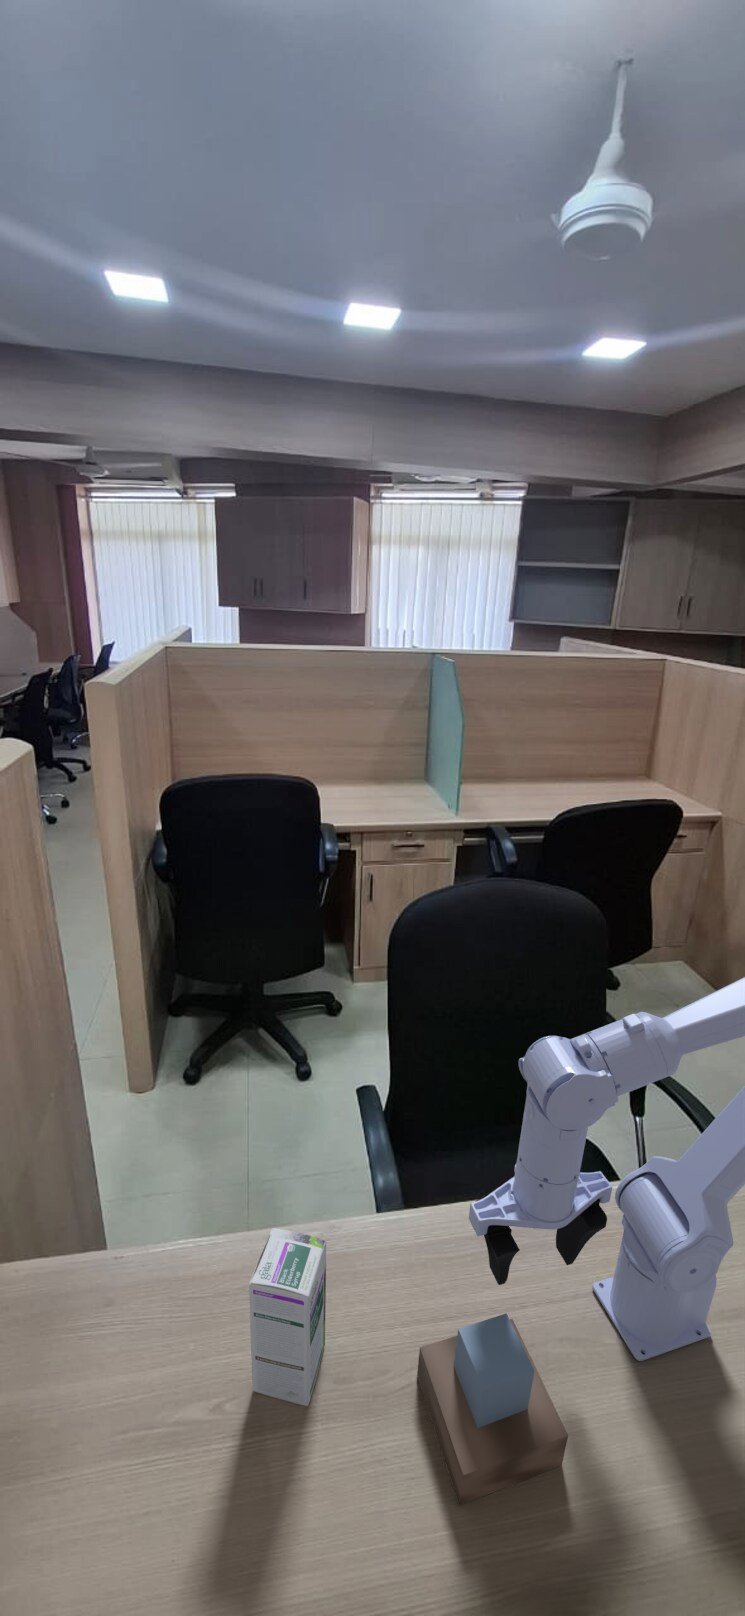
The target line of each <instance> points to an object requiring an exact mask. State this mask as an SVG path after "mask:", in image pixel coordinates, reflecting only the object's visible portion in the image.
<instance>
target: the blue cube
mask: <svg viewBox="0 0 745 1616" xmlns="http://www.w3.org/2000/svg"><path fill="white" fill-rule="evenodd" d="M510 1319H511V1318H509V1315H508V1314H507V1313H504V1314H499V1315H498V1316H494V1317H491V1318H488V1319H485V1320H482V1321H479V1322H475V1323H472V1324H469V1325H466V1326H464V1327H460V1328H458V1329H457V1335H456V1336H457V1343H456V1351H455V1359H454V1369H455V1371H456V1374H457V1377H458V1379H459V1382H460V1384H461V1387H462V1389H463V1392H464V1395H465V1397H466V1400H467V1402H468V1405H469V1408H470V1410H471V1413H472V1415H473V1418H474V1420H475V1423H476V1426H477V1428H479V1427H482V1426H485V1425H487V1424H490V1423H492V1422H495V1421H498V1420H500V1419H503V1418H506V1417H508V1416H511V1415H514V1414H516V1413H519V1412H521V1411H524V1410H527V1409H528V1405H529V1399H530V1394H531V1388H532V1383H533V1377H534V1372H535V1371H534V1369H533V1366H532V1364H531V1362H530V1360H529V1358H528V1356H527V1354H526V1352H525V1350H524V1348H523V1346H522V1344H521V1342H520V1340H519V1338H518V1336H517V1334H516V1332H515V1330H514V1328H513V1326H512V1324H511V1321H510Z"/></svg>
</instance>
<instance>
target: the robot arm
mask: <svg viewBox="0 0 745 1616" xmlns="http://www.w3.org/2000/svg"><path fill="white" fill-rule="evenodd" d="M743 1037H745V976H743V977H742V978H740V979H737V980H736V981H734V982H732V983H730V984H728V985H726V986H723V987H722V988H720V989H717V990H716V991H714V992H712V993H710V994H708V995H706V996H703V997H701V998H700V999H697V1000H696V1001H693V1002H692V1003H690V1004H687V1005H686V1006H683V1007H682V1008H679V1009H677V1010H675V1011H674V1012H671V1013H669V1014H667V1015H666V1016H664V1017H659V1016H658V1015H657V1016H656V1015H654V1014H652V1013H649V1012H645V1011H639V1012H637V1013H632V1014H629V1015H627V1016H624V1017H622V1018H621V1019H619V1020H616V1021H614V1022H611V1023H609V1024H606V1025H604V1026H601V1027H598V1028H596V1029H593V1030H591V1031H588V1032H586V1033H582V1034H581V1035H578V1036H575V1037H573V1038H567V1037H563V1036H558V1035H548V1036H543V1037H541V1038H538V1040H536V1041H535V1042H533V1043H532V1044H531V1045H530V1046H529V1047H528V1048H527V1051H526V1053H525V1055H524V1056H523V1057H520V1058H519V1059H518V1068H519V1071H520V1074H521V1076H522V1077H523V1079H524V1081H525V1082H526V1083H527V1087H526V1097H525V1104H524V1112H523V1117H522V1125H521V1132H520V1138H519V1144H518V1150H517V1152H518V1153H517V1159H516V1163H515V1165H514V1169H513V1171H514V1176H513V1177H511V1178H510V1179H509V1180H507V1181H506V1182H504V1183H503V1184H502V1185H501V1186H499V1187H497V1188H495V1190H493V1191H492V1192H490V1193H489V1194H488V1195H487V1196H485V1197H483V1198H478V1199H477V1200H475V1201H473V1202H471V1203H470V1204H469V1212H468V1220H469V1223H470V1225H471V1226H472V1229H473V1230H474V1232H475V1234H476V1236H477V1237H481V1236H483V1237H484V1240H485V1244H486V1248H487V1249H486V1250H487V1254H488V1262H489V1263H488V1264H489V1265H488V1266H489V1269H490V1270H491V1273H492V1275H493V1277H494V1279H495V1281H496V1283H497V1285H499V1286H501V1285H504V1284H506V1283H507V1281H508V1277H509V1272H510V1267H511V1263H512V1262H513V1259H514V1257H515V1256H516V1255H517V1253H518V1252H520V1251H521V1250H520V1248H519V1247H518V1244H517V1242H516V1241H515V1238H514V1237H513V1235H512V1231H513V1230H512V1228H511V1227H517V1228H528V1229H538V1230H539V1229H540V1230H556V1234H555V1248H556V1250H557V1251H558V1253H559V1256H561V1258H562V1260H563V1261H564V1263H565V1265H566V1266H569V1265H572V1264H573V1263H574V1262H575V1261H576V1259H577V1258H578V1256H579V1254H580V1253H581V1251H582V1250H583V1249H584V1248H585V1245H586V1244H587V1243H588V1242H589V1241H590V1239H591V1238H592V1237H594V1236H595V1235H596V1234H597V1233H599V1232H600V1231H602V1230H603V1229H606V1227H607V1224H608V1223H607V1222H608V1216H607V1214H606V1212H605V1211H604V1210H603V1208H602V1207H601V1205H600V1204H605V1203H609V1202H610V1201H611V1197H612V1191H613V1186H612V1184H611V1183H610V1182H609V1180H608V1179H607V1178H606V1176H605V1175H604V1174H603V1172H602V1171H601V1170H599V1171H594V1172H582V1171H581V1168H582V1162H583V1158H584V1157H583V1155H584V1150H585V1146H586V1140H587V1136H588V1130H589V1127H591V1126H592V1125H594V1124H596V1123H597V1122H598V1121H599V1120H600V1119H601V1118H602V1117H603V1115H604V1114H605V1113H606V1111H608V1110H609V1109H610V1108H612V1107H614V1106H616V1103H618V1102H619V1097H620V1096H623V1095H626V1094H627V1093H630V1092H633V1091H635V1090H638V1089H640V1088H643V1087H646V1086H647V1085H650V1084H653V1083H655V1082H658V1081H660V1080H663V1079H665V1078H667V1077H670V1076H673V1075H675V1073H677V1070H678V1068H679V1065H680V1062H681V1059H682V1058H683V1056H684V1055H686V1054H690V1053H693V1052H697V1051H700V1050H703V1049H706V1048H710V1047H713V1046H716V1045H720V1044H723V1043H726V1042H727V1043H728V1042H729V1041H730V1042H731V1041H733V1040H736V1039H740V1038H743ZM743 1187H745V1085H744V1086H743V1087H742V1088H741V1089H740V1091H738V1092H737V1094H735V1096H734V1097H733V1098H732V1099H731V1101H729V1103H728V1104H727V1105H726V1106H725V1107H724V1108H723V1109H722V1111H720V1113H719V1114H718V1115H717V1116H716V1117H715V1118H714V1119H713V1120H712V1122H711V1123H710V1124H709V1125H708V1127H706V1129H704V1131H703V1132H702V1133H701V1134H700V1135H699V1136H698V1138H696V1140H695V1141H694V1142H693V1143H692V1144H691V1145H690V1147H688V1149H687V1150H686V1151H685V1152H684V1153H683V1154H682V1156H681V1157H680V1158H679V1159H678V1160H676V1159H673V1158H669V1157H665V1156H660V1155H659V1156H658V1155H655V1156H654V1155H653V1156H651V1157H650V1158H649V1159H648V1160H647V1162H646V1163H645V1164H644V1165H642V1166H641V1167H639V1168H638V1169H636V1170H632V1171H631V1172H629V1173H627V1175H626V1176H624V1177H623V1178H622V1180H621V1181H620V1182H619V1184H618V1186H617V1188H616V1190H615V1195H614V1199H615V1204H616V1206H617V1207H618V1209H619V1210H620V1211H621V1212H622V1215H623V1216H622V1219H621V1225H622V1226H623V1227H622V1228H623V1233H622V1239H621V1242H620V1245H619V1251H618V1255H617V1261H616V1265H615V1269H614V1273H613V1276H612V1277H609V1278H605V1279H602V1280H599V1281H595V1282H593V1283H592V1285H591V1286H592V1290H593V1292H594V1293H595V1295H596V1297H597V1299H598V1300H599V1301H600V1302H599V1303H601V1305H602V1307H603V1308H604V1310H605V1312H606V1314H608V1316H609V1318H610V1319H611V1321H612V1322H613V1325H614V1326H615V1328H616V1330H617V1331H618V1333H619V1334H620V1336H621V1338H622V1339H623V1341H624V1342H625V1344H626V1346H627V1347H628V1350H629V1351H630V1353H632V1356H633V1357H634V1358H635V1360H637V1361H639V1362H643V1361H645V1360H649V1359H651V1358H655V1357H657V1356H660V1355H663V1354H666V1353H667V1352H670V1351H674V1350H677V1349H680V1348H682V1347H685V1346H687V1345H690V1344H691V1345H692V1344H694V1343H696V1342H699V1341H702V1340H705V1339H708V1338H710V1337H711V1335H712V1330H711V1328H710V1327H709V1325H707V1323H706V1322H707V1319H708V1316H709V1313H710V1308H711V1306H712V1305H711V1304H712V1301H713V1297H714V1294H715V1292H716V1288H717V1273H718V1271H719V1269H720V1266H721V1263H722V1261H723V1259H724V1257H725V1256H726V1255H727V1253H728V1252H729V1251H730V1249H732V1247H733V1246H734V1238H733V1231H732V1227H731V1226H732V1225H731V1220H730V1216H729V1209H728V1204H729V1202H730V1201H731V1200H732V1199H733V1198H734V1197H735V1196H736V1194H737V1193H739V1192H740V1191H741V1189H742V1188H743ZM643 1353H644V1354H643Z"/></svg>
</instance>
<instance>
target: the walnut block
mask: <svg viewBox="0 0 745 1616" xmlns="http://www.w3.org/2000/svg"><path fill="white" fill-rule="evenodd" d="M509 1319H510V1321H511V1324H512V1326H513V1328H514V1330H515V1332H516V1334H517V1336H518V1338H519V1340H520V1342H521V1344H522V1346H523V1348H524V1350H525V1352H526V1354H527V1356H528V1358H529V1360H530V1362H531V1364H532V1366H533V1369H534V1371H535V1372H534V1377H533V1383H532V1388H531V1394H530V1399H529V1405H528V1409H527V1410H524V1411H521V1412H519V1413H516V1414H514V1415H511V1416H508V1417H506V1418H503V1419H500V1420H498V1421H495V1422H492V1423H490V1424H487V1425H485V1426H482V1427H479V1428H477V1426H476V1423H475V1420H474V1418H473V1415H472V1413H471V1410H470V1408H469V1405H468V1402H467V1400H466V1397H465V1395H464V1392H463V1389H462V1387H461V1384H460V1382H459V1379H458V1377H457V1374H456V1371H455V1369H454V1359H455V1351H456V1343H457V1335H455V1336H452V1337H448V1338H444V1339H442V1340H438V1341H435V1342H432V1343H429V1344H426V1345H423V1346H420V1347H419V1350H418V1351H419V1352H418V1353H419V1354H418V1361H417V1362H418V1364H417V1370H416V1371H417V1374H416V1376H417V1380H418V1383H419V1387H420V1388H421V1392H422V1396H423V1398H424V1401H425V1405H426V1407H427V1411H428V1415H429V1417H430V1420H431V1423H432V1426H433V1429H434V1432H435V1433H434V1434H435V1435H436V1438H437V1441H438V1445H439V1448H440V1451H441V1454H442V1457H443V1460H444V1463H445V1466H446V1469H447V1472H448V1475H449V1479H450V1481H451V1482H450V1483H451V1485H452V1488H453V1491H454V1494H455V1497H456V1501H457V1503H458V1506H461V1505H464V1504H466V1503H469V1502H472V1501H474V1500H477V1499H479V1498H481V1497H484V1496H487V1495H489V1494H492V1493H495V1492H498V1491H499V1490H502V1489H505V1488H507V1487H510V1486H512V1485H515V1484H517V1483H520V1482H522V1481H524V1480H525V1481H526V1480H527V1479H530V1478H532V1477H535V1476H537V1475H538V1476H539V1475H541V1474H542V1473H545V1472H548V1471H551V1470H553V1469H555V1468H558V1467H560V1466H562V1465H563V1461H564V1456H565V1454H566V1453H565V1452H566V1447H567V1443H568V1438H569V1434H568V1432H567V1429H566V1428H565V1426H564V1424H563V1422H562V1420H561V1417H560V1415H559V1414H558V1411H557V1409H556V1407H555V1405H554V1403H553V1401H552V1398H551V1397H550V1394H549V1393H548V1390H547V1388H546V1386H545V1384H544V1382H543V1380H542V1377H541V1375H540V1374H539V1372H538V1370H537V1367H536V1365H535V1363H534V1361H533V1359H532V1356H531V1355H530V1353H529V1351H528V1349H527V1346H526V1344H525V1341H524V1340H523V1337H522V1335H521V1334H520V1332H519V1329H518V1328H517V1325H516V1323H515V1321H514V1319H513V1318H509Z"/></svg>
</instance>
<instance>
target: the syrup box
mask: <svg viewBox="0 0 745 1616" xmlns="http://www.w3.org/2000/svg"><path fill="white" fill-rule="evenodd" d="M326 1281H327V1241H326V1239H323V1238H320V1237H317V1236H312V1235H310V1234H305V1233H302V1232H297V1231H293V1230H287V1229H281V1228H280V1229H279V1228H275V1227H271V1230H270V1232H269V1234H268V1237H267V1240H266V1241H265V1244H264V1246H263V1249H262V1251H261V1253H260V1254H259V1257H258V1260H257V1262H256V1265H255V1268H254V1270H253V1273H252V1275H251V1279H249V1283H248V1288H249V1289H248V1291H249V1294H248V1295H249V1296H248V1297H249V1317H250V1318H249V1319H250V1321H249V1322H250V1323H249V1325H250V1326H249V1327H250V1348H251V1352H250V1353H251V1373H252V1375H251V1381H252V1383H251V1384H252V1391H253V1392H255V1393H259V1394H262V1395H265V1396H267V1397H270V1398H271V1397H272V1398H274V1399H279V1400H282V1401H284V1402H285V1401H286V1402H290V1403H293V1404H297V1405H299V1406H305V1407H308V1406H309V1405H310V1401H311V1397H312V1396H313V1395H312V1394H313V1391H314V1387H315V1385H316V1381H317V1378H318V1374H319V1369H320V1366H321V1362H322V1358H323V1354H324V1350H325V1346H326V1302H327V1301H326V1300H327V1298H326V1296H327V1295H326V1293H327V1291H326V1289H327V1286H326V1285H327V1282H326Z"/></svg>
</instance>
